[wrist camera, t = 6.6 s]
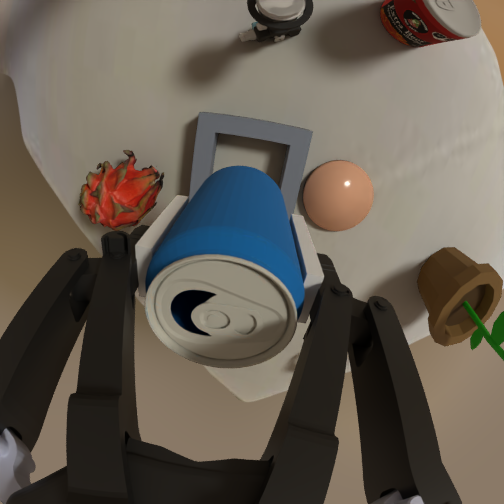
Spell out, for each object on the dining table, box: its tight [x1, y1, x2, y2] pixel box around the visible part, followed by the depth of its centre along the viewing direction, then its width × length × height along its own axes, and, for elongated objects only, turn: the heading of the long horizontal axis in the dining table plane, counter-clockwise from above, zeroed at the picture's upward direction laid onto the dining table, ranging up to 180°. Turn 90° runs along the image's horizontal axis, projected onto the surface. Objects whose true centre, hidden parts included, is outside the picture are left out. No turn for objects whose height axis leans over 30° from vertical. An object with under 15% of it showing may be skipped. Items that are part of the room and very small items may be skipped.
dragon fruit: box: [78, 150, 164, 231], centre depth 29 cm, size 8×8×12 cm
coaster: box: [303, 160, 374, 231], centre depth 31 cm, size 9×9×1 cm
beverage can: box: [145, 166, 305, 368], centre depth 15 cm, size 6×6×12 cm
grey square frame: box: [189, 112, 313, 221], centre depth 30 cm, size 12×12×2 cm
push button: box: [239, 0, 313, 42], centre depth 18 cm, size 7×5×10 cm
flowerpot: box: [417, 247, 504, 360], centre depth 24 cm, size 14×14×30 cm
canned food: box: [380, 0, 481, 47], centre depth 14 cm, size 8×8×11 cm
